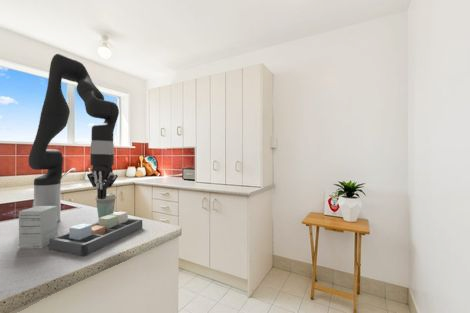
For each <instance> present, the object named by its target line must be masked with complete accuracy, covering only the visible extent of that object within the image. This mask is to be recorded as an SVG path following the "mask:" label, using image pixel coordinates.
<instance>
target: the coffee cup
mask: <svg viewBox="0 0 470 313" xmlns="http://www.w3.org/2000/svg"><path fill="white" fill-rule="evenodd" d="M116 198H117V196H116V193H114V192H106V198H105V199H98V196H97V195H96V197H95V200H96V209H97V210H96V211H97V216H98V217H97V218H98V219H99V218H100V217H104V216H107V215H111V214H113V213H115V211H114V210H115V206H116V205H115V204H116Z"/></svg>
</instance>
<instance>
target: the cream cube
mask: <svg viewBox="0 0 470 313" xmlns="http://www.w3.org/2000/svg"><path fill="white" fill-rule="evenodd" d="M111 215H113V216H117V224H121V223H123V222H126V221H128V217H129V216H128V215H129V214H128V211H127V212H126V211H116V212H114V213H113V214H111Z"/></svg>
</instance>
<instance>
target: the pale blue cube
mask: <svg viewBox="0 0 470 313" xmlns="http://www.w3.org/2000/svg"><path fill="white" fill-rule="evenodd" d="M68 232H69V238H71V239H77V240H80V239H83V238H85V237H88V236H91V235H92V225H91V224H90V223H89V224H88V223H79V224H75V225H73V226H70V227H69V230H68Z"/></svg>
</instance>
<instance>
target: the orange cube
mask: <svg viewBox="0 0 470 313" xmlns="http://www.w3.org/2000/svg"><path fill="white" fill-rule="evenodd" d="M92 234H98V235H105V226H98V225H95V226H92Z"/></svg>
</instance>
